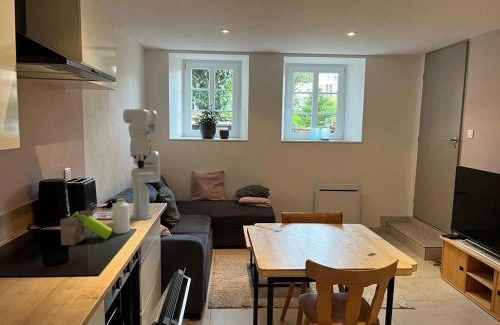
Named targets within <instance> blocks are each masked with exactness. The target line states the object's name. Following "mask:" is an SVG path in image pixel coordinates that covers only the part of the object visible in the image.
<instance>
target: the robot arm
mask: <svg viewBox="0 0 500 325" xmlns="http://www.w3.org/2000/svg"><path fill="white" fill-rule="evenodd" d="M122 117H123V122H124V123H125V124H129V125H128V128H127V129H128V135H129V138H130V143H129V144H130V147H129V153H130V158H133V164H134V165H135V166H137V167H135V168H133V169H132V170H131V172H130V176H131V177H130V178H131V181H132V202H133V203H132V204H133V206H132V207H133V209H132V210H133V213H132V215H131V216H130V218H131V219H132V220H138V221H140V220H141V221H143V220H149V219H151V218H152V214H151V213H150V189H149V187H148V186H147V185H146V184H147V183H157V182H159V181H160V180H161V160H160V159H161V158H160V153H159V152H158V151H157V150H152V142H151V141H152V140H151V137H154V136H156V135H157V134H158V128H159V126H158V124H159V123H158V121H159V120H158V119H159V118H158V113H157V112H156V111H155V110H153V109H142V108H140V109H139V108H135V109H133V108H128V109H124V110H123V113H122ZM149 166H150V167H149ZM145 183H146V184H145Z"/></svg>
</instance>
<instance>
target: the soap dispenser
mask: <svg viewBox="0 0 500 325" xmlns="http://www.w3.org/2000/svg"><path fill="white" fill-rule="evenodd" d="M78 212H79V211H78V210H77V211H75V212H74V213H72V216H70V218H77V217H78V218H79V221H81V222H83V226H84V227H86V228H87V229H89V230H91V231H92V232H93V234H96V235H97V236H99V237H100V238H102V239H104V240H107V239H109V237H110V236H111V234H112V232H113V228H111V227H110V226H109V225H106V224H105V223H103V222H101V221H100V220H98V219H96V217H94V216H93V217H92V216H89V217H87V216H85V215H83V214H82V215H80V214H78Z"/></svg>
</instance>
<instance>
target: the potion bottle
mask: <svg viewBox="0 0 500 325" xmlns="http://www.w3.org/2000/svg"><path fill="white" fill-rule="evenodd" d="M112 226H113V227H112V229H113V231H112V232H113V233H114V234H117V235H118V234H119V235H121V234H122V233H123V234H126V233H129V231H130V205H129V203H127V202H126V199H125V198H117V199H116V202H115V203H114V204H113V205H112Z"/></svg>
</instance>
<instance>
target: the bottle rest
mask: <svg viewBox="0 0 500 325" xmlns="http://www.w3.org/2000/svg"><path fill="white" fill-rule="evenodd" d="M93 212H94V211H93V210H81V211H78V214H80V215H82V214H83V215H85V216H87V217H89V216H92V217H93V218H94V216H93V215H94V213H93ZM59 223H60V243H61V246H75V245H76V244H78V243H80V242H82V241H83V240H84V239H86V238H88V237H90V236H91V235H92V234H94V232H92V231H91V230H89V229H87V228H86V227H84V226H83V222H81V221H79V218H78V217H73V218H71V217H64V218H62V219H61V220H60V222H59Z"/></svg>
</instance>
